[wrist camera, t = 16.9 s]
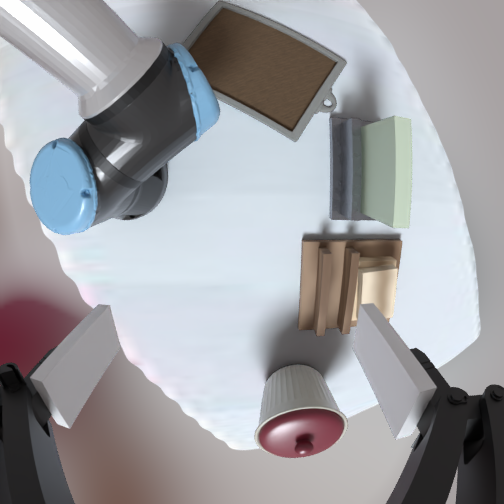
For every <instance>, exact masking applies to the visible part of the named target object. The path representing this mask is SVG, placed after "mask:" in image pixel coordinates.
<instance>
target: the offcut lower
mask: <svg viewBox="0 0 504 504" xmlns="http://www.w3.org/2000/svg"><path fill="white" fill-rule="evenodd" d="M396 262H397V260H395V259H394V258H393V257H391V256H388V257H360V258H359V268H364V267H372V266H380V265H387V264H393V265H394V266H395V267H396ZM357 287H358V277H357V285H356V293H355V300H354V307H353V314H352V320H351V321H354V320H358V319H357V318H356V307H357Z"/></svg>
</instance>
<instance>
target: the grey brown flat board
mask: <svg viewBox="0 0 504 504" xmlns="http://www.w3.org/2000/svg"><path fill="white" fill-rule="evenodd" d="M182 46H184V47H185V48H186V50H187V51H188V52H189V53H190V54H191V56H192V57H193V59H194V61H195V62H196V64H197V65H198V68H199V69H201V71H202V72H203V74H204V75H205V77H206V79H207V81H208V82H209V84H210V86H211V88H212V90H213V92H214V94H215V96H216V99H218V100H220V101H222V102H224V103H226V104H228V105H230V106H232V107H234V108H236V109H238V110H240V111H242V112H244V113H245V114H247V115H249V116H251V117H253V118H255V119H256V120H258V121H260V122H262V123H264V124H265V125H267V126H269V127H271V128H272V129H274V130H276V131H277V132H279V133H281V134H282V135H284V136H286V137H287V138H289V139H291V140H292V141H294V142H297V140H298V139H299V137H300V136H301V134H302V132H303V131H304V129H305V128H306V126H307V124H308V123H309V121H310V120H311V118H312V117H313V115H314V113H315V114H317V113H318V112H319V111H320V112H324V113H328V112H331V111H333V110H334V109H335V108H336V104H337V103H336V98H335V97H334V95H333V94H332V93H331V92H332V88H331V87H332V85H333V84H334V82H335V81H336V79H337V78H338V76H339V75H340V73H341V72H342V70H343V69H344V67H345V65H346V64H347V62H346V61H344V60H343V59H341V58H340V57H338V56H337V55H335V54H333V53H332V52H330V51H328V50H327V49H325V48H323V47H322V46H320V45H318V44H317V43H315V42H313V41H311V40H309V39H308V38H306V37H304V36H302V35H300V34H298V33H296V32H294V31H292V30H290V29H288V28H286V27H284V26H282V25H280V24H278V23H276V22H273V21H271V20H269V19H267V18H264V17H262V16H260V15H257V14H255V13H252V12H250V11H247V10H245V9H242V8H240V7H237V6H234V5H231V4H228V3H225V2H222V1H218V2H217V3H216V4H215V5H214V7H213V8H212V9H211V10H210V11H209V12H208V13H207V15H206V16H205V17H204V18H203V19H202V21H201V22H200V23H199V24H198V25H197V27H196V28H195V29H194V30H193V32H192V33H191V34H190V36H189V37H188V38H187V39H186V41H185V42H184V43H183V45H182ZM326 99H328V100H329V101H331V102H332V106H331V107H327V106H325V105H323V104H324V101H325V100H326Z"/></svg>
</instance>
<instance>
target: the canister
mask: <svg viewBox="0 0 504 504" xmlns="http://www.w3.org/2000/svg"><path fill="white" fill-rule="evenodd" d="M347 428H348V421H347V418H346V416H345V415H344V414H343V413H342V412H341V411H340V410H339V408H338V406H337V404H336V402H335V400H334V398H333V396H332V394H331V392H330V390H329V388H328V386H327V384H326V382H325V380H324V379H323V377H322V375H321V374H320V373H319V372H318V371H316V370H315V369H314V368H312V367H308V366H307V365H299V364H298V365H289V366H285V367H283V368H281V369H279V370H277V371H276V372H274V373H273V374H272V375H271V376H270V378H268V380H267V382H266V384H265V388H264V392H263V398H262V405H261V413H260V420H259V426H258V428H257V429H256V431H255V436H254V437H255V442H256V444H257V445H258V446H259V448H261V449H262V450H263V451H265V452H267V453H269V454H272V455H276V456H281V457H288V458H296V457H297V458H298V457H306V456H310V455H314V454H317V453H320V452H322V451H324V450H326V449H328V448H329V447H331V446H333V445H334V444H336V443H337V442H338V441H339V440H340V439H341V438H342V437H343V436H344V434H345V433H346V431H347Z"/></svg>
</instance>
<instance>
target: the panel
mask: <svg viewBox="0 0 504 504" xmlns="http://www.w3.org/2000/svg"><path fill="white" fill-rule="evenodd" d="M361 150H362V178H361V210H360V213H362V214H364V215H367V216H369V217H371V218H373V219H375V220H377V221H379V222H382V223H384V224H386V225H388V226H390V227H392V228H409V222H410V210H411V192H412V130H411V119H408V118H403V117H398V116H392V117H389V118H386V119H383V120H380V121H377V122H374V123H371V124H368V125H365V126H363V127H361Z"/></svg>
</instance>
